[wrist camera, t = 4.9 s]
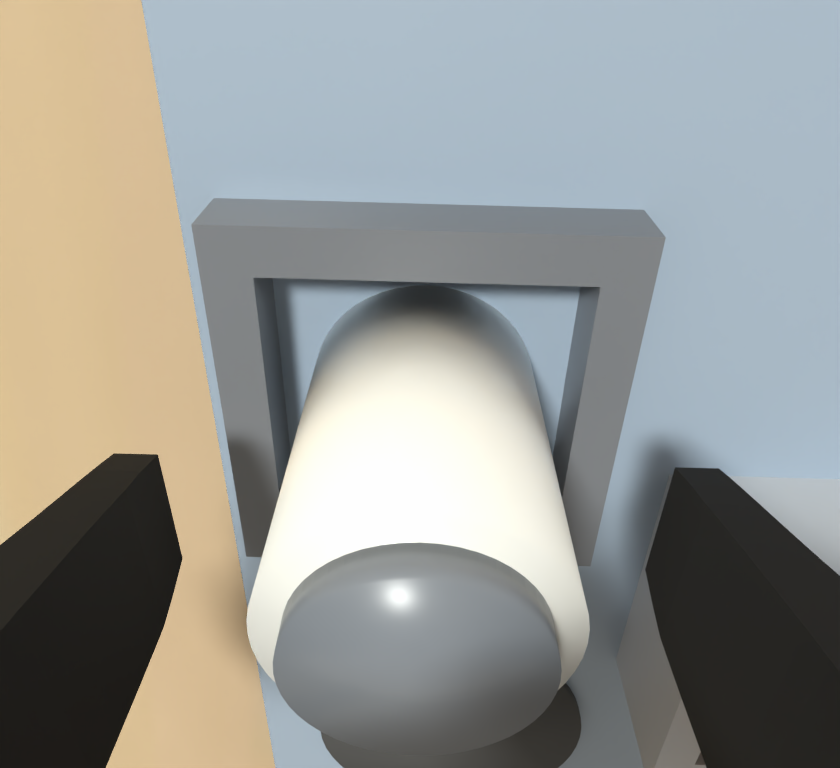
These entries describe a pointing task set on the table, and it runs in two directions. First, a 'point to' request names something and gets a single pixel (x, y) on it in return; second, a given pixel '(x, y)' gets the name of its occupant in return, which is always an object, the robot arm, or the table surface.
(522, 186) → the panel
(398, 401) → the cartridge
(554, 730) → the rubber pad
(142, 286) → the table surface
